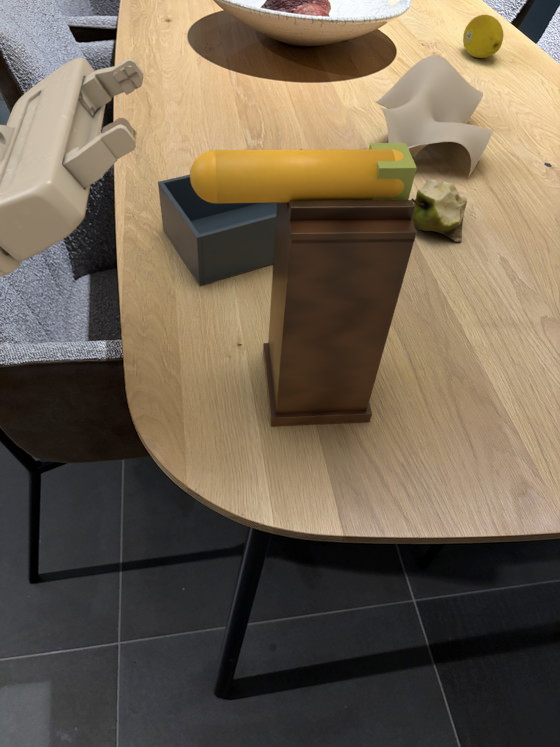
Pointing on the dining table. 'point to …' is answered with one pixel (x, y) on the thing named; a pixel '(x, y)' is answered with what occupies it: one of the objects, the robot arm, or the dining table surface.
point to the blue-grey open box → (216, 232)
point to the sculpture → (434, 109)
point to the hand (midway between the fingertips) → (135, 98)
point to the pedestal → (332, 305)
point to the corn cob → (304, 174)
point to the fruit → (439, 209)
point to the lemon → (483, 36)
